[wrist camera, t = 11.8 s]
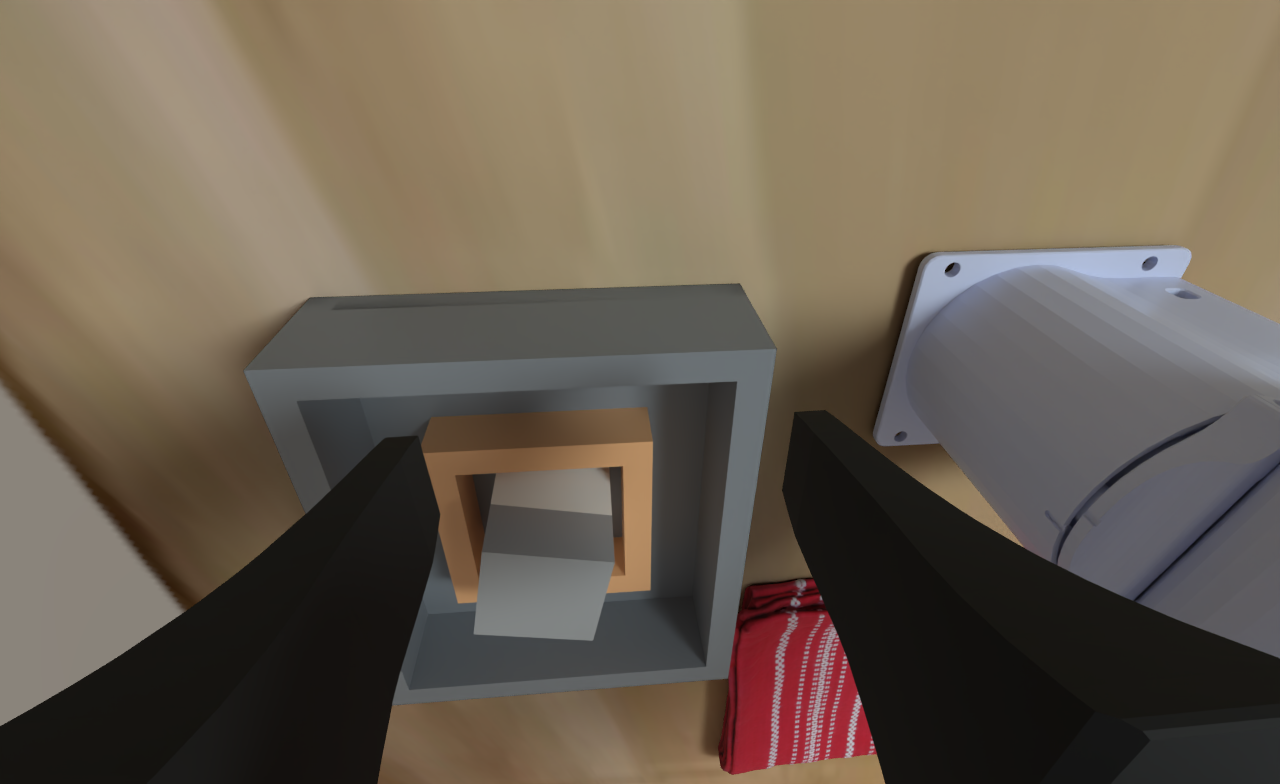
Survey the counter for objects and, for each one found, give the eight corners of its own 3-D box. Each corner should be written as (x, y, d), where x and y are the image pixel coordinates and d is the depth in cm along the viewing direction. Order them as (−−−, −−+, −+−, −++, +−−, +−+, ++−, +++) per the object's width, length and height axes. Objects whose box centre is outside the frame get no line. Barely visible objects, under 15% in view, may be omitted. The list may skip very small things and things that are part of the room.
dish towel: (726, 572, 29) (737, 619, 27) (1177, 539, 30) (1224, 581, 28) (708, 746, 38) (715, 791, 36) (1053, 714, 40) (1081, 756, 38)
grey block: (608, 458, 22) (614, 562, 18) (591, 531, 24) (592, 640, 20) (501, 446, 22) (481, 552, 17) (492, 523, 24) (473, 634, 19)
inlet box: (740, 283, 20) (776, 348, 16) (708, 590, 29) (727, 678, 25) (310, 297, 19) (243, 370, 15) (415, 610, 28) (388, 705, 24)
